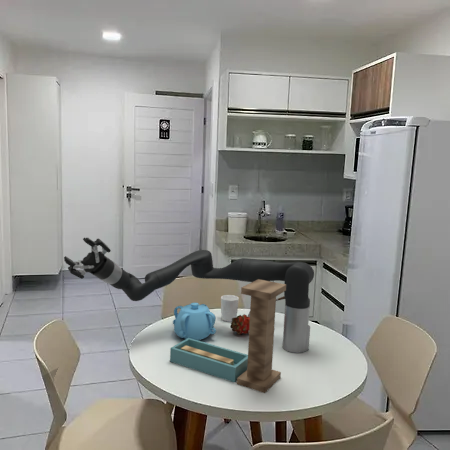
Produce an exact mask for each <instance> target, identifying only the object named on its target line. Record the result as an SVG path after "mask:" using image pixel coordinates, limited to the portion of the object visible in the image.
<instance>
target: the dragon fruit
mask: <svg viewBox="0 0 450 450" xmlns="http://www.w3.org/2000/svg"><path fill="white" fill-rule="evenodd" d="M249 325H250V317H248V315H247V314H245V313H244V314H242V315H241V314H239V315H237V317H236V318H232V322H230V329H231V331H232V332H236V334H237V335H239V336H240V335H242V334H244V335H246V334H247V335H249Z"/></svg>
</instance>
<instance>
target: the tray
mask: <svg viewBox="0 0 450 450" xmlns="http://www.w3.org/2000/svg"><path fill="white" fill-rule="evenodd" d="M184 346H190V347H193V348H196V349H199V350H203V351H206V352H209V353H213V354H216V355H219V356H223V357H226V358H229V359H233V360H234V366H233V365H229V364H226V363H223V362H220V361H216V360H213V359H210V358H206V357H203V356H200V355H197V354H193V353H190V352H187V351H183V350H181V348H182V347H184ZM169 350H170V351H169V352H170V353H169V354H170V355H169V362H171V363H173V364H176V365H179V366H183V367H185V368H186V367H187V368H189V369H193V370H194V371H197V372H202V373H203V374H207V375H210V376H212V377H216V378H219V379H223V380H226V381H229V382H232V383H237V378H238V377H239V376H240V375H241V374H243V373H244V372H245V371H246V370H247V364H248V353H243V352H239V351H237V350H232V349H229V348H226V347H222V346H219V345H215V344H212V343H209V342H204V341H201V340H200V341H198V340H194V339H191V338H187V339H185V338H184V340H182V341H180V342H179V343H177V344H175V345H173V346H172V347H170V349H169Z"/></svg>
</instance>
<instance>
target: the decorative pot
mask: <svg viewBox="0 0 450 450" xmlns="http://www.w3.org/2000/svg"><path fill="white" fill-rule="evenodd" d="M178 309H179V312H178ZM173 314H174V319H173V320H172V324H173V331H174V333H175V334H176V336H178V337H179V338H180V339H184V340H185V339H187V338H191V339H194V340H198V341H201V340H203V339H206V338H208V337H209V336H210V335H214V334H216V332H217V329H216V328H215V324H216V319H217V318H216V315H215V314H214V312H212V311H211V310H210V308H209V307H208V305H207V304H205V303H201V304H200V303H199V302H191V303H189V304H186V305H184V306H182V305H178V306H175V307H174V310H173Z"/></svg>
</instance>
